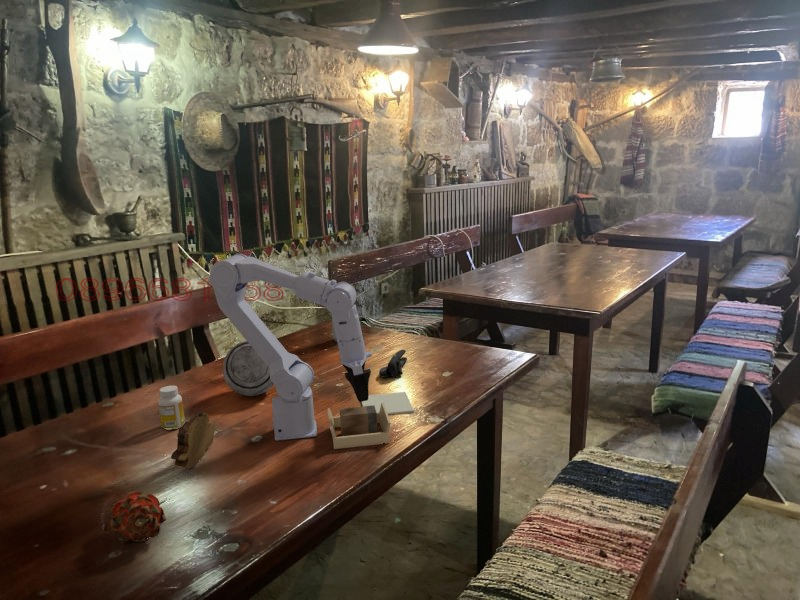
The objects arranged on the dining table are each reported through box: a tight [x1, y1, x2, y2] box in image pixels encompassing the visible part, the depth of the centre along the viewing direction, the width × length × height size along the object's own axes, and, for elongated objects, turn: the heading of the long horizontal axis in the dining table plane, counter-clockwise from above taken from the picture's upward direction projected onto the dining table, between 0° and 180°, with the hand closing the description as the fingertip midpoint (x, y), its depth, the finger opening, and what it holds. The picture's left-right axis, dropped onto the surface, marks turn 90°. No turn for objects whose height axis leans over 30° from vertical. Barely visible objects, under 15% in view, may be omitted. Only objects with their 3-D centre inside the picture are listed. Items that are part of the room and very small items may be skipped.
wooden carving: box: [170, 412, 216, 469], centre depth 128 cm, size 16×5×10 cm, turn 178°
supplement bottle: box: [157, 385, 186, 428], centre depth 145 cm, size 5×5×10 cm
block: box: [339, 405, 378, 437], centre depth 138 cm, size 8×4×6 cm, turn 100°
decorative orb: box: [222, 340, 275, 397], centre depth 163 cm, size 15×14×15 cm
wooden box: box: [326, 403, 392, 450], centre depth 138 cm, size 13×11×5 cm
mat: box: [361, 391, 415, 416], centre depth 154 cm, size 12×12×1 cm
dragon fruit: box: [101, 490, 167, 543], centre depth 104 cm, size 8×8×12 cm
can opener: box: [378, 349, 408, 378], centre depth 178 cm, size 18×7×6 cm, turn 164°
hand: (361, 394), depth 137 cm, fingers open, 7 cm apart
